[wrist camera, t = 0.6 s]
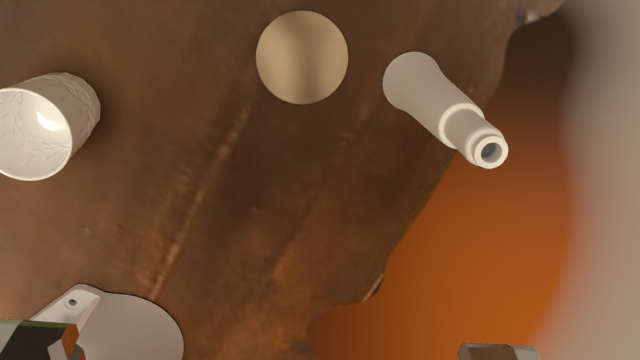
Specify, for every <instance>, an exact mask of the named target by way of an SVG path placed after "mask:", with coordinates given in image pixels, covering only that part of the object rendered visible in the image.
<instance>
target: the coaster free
mask: <svg viewBox="0 0 640 360" xmlns="http://www.w3.org/2000/svg"><path fill="white" fill-rule="evenodd" d="M256 64H257V69H258V72H259V75H260V77H261V80H262V81H263V83H264V85H265V86H266V87H267V88H268V89H269V90H270V91H271V92H272V93H273V94H274V95H275V96H277V97H278V98H280V99H282V100H284V101H287V102H290V103H294V104H310V103H314V102H317V101H320V100H322V99H324V98H326V97H327V96H329V95H330V94H331V93H333V92H334V91H335V90H336V89H337V87H338V86H339V85H340V83H341V82H342V80H343V78H344V76H345V73H346V70H347V65H348V49H347V45H346V42H345V39H344V37H343V35H342V33H341V32H340V30H339V29H338V28H337V27H336V25H335V24H334V23H333V22H331V21H330V20H329V19H328V18H326V17H324V16H323V15H321V14H318V13H315V12H312V11H306V10H298V11H292V12H288V13H285V14H283V15H281V16H279V17H278V18H276V19H275V20H273V21H272V22H271V23H270V24H269V25H268V26H267V27H266V29H265V30H264V31H263V33H262V35H261V37H260V40H259V42H258V46H257V51H256Z"/></svg>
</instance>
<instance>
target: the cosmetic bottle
mask: <svg viewBox="0 0 640 360" xmlns="http://www.w3.org/2000/svg"><path fill="white" fill-rule="evenodd" d="M383 91H384V94H385V96H386V98H387V100H388V101H389V102H390V103H391V104H392V105H393V106H394V107H396V108H398V109H400V110H403V111H406V112H407V113H409V114H410V115H411V116H413V117H414V118H415V119H416V120H417V121H418V122H420V123H421V124H422V125H423V126H424V127H425V128H426V129H427V130H429V131H430V132H431V133H432V134H433V135H434V136H435V137H437V138H438V139H439V140H440V141H442V142H443V143H444V144H445V145H447V146H448V147H451V148H454V149H458V150H459V151H460V153H462V155H463V156H464V157H465V158H466V159H467V160H468V161H469V162H471V163H472V164H474V165H478V166H481V167H483V168H486V169H491V168H495V167H497V166H499V165H501V164H502V163H503V162H504V160H505V159H506V157H507V154H508V146H507V143H506V142H505V140H504V137H503V135H502V133H501V132H500V131H499V130H498V129H496V128H495V127H494V126H492V125H491V124H490V123H489V122H487V121H486V120H485V117H484V114H483V112H482V111H481V110H480V109H479V108H478V106H477V105H475V104H474V103H473V102H472V101H471V100H470V99H469V98H468V97H467V96H466V95H465V94H464V93H463V92H462V91H461V90H459V89H458V88H457V87H456V86H455V85H454V84H453V83H452V82H451V81H449V80H448V79H447V78H446V77H445V76H444V74H443V73H442V72H441V70H440V68H439V66H438V64H437V63H436V62H435V60H434V59H433V58H431V57H430V56H428V55H427V54H424V53H421V52H408V53H404V54H402V55H400V56H398V57H397V58H395V59H394V60H393V61H392V62H391V63H390V64H389V66H388V67H387V69H386V71H385V73H384V77H383Z"/></svg>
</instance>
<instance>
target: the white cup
mask: <svg viewBox="0 0 640 360" xmlns="http://www.w3.org/2000/svg"><path fill="white" fill-rule="evenodd" d="M100 108H101V104H100V102H99V99H98V97H97V95H96V92H95V90H94V89H93V88H92V87H91V86H90V85H89V84H88V83H87V82H86V81H84V80H83V79H82V78H80V77H77V76H75V75H72V74H70V73H67V72H59V73H48V74H46V75H43V76H38V77H34V78H31V79H28V80H25V81H22V82H19V83H16V84H13V85H11V86H8V87H5V88H2V89H0V173H2V174H4V175H6V176H9V177H12V178H15V179H19V180H27V181H34V180H41V179H45V178H48V177H50V176H52V175H54V174H56V173H57V172H59V171H60V170H61V169H62V168H63V167H64V166H65V164H66V163H67V162H68V161H69V160H70V159H71V157H72V156H73V155H74V154H75V153H76V152H77V151H78V149H79V148H80V147H81V146H82V145H83V143H84V142H85V141H86V139H87V138H88V137H89V136H90V134H91V132H92V131H93V129H94V128H95V126H96V125H97V123H98V121H99V120H100Z"/></svg>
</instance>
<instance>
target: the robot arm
mask: <svg viewBox="0 0 640 360" xmlns="http://www.w3.org/2000/svg"><path fill="white" fill-rule="evenodd" d="M71 299H74V300H75V301H76V302H73V301H72V300H71ZM183 352H184V342H183V337H182V334H181V331H180V329H179V327H178V326H177V324H176V323H175V321H174V320H173V319H172V317H171V316H170V315H169V314H168V313H167V312H165V311H164V310H163V309H161V308H160V307H159V306H157V305H155V304H153V303H152V302H149V301H147V300H145V299H142V298H139V297H135V296H130V295H124V294H112V293H106V292H103V291H101V290H99V289H96V288H94V287H91V286H89V285H85V284H77V285H75V286H73V287H72V288H70V289H69V290H68V291H66V292H65V293H64V294H62V295H61V296H60V297H58V298H57V299H56V300H54V301H53V302H52V303H50V304H49V305H47V306H46V307H45V308H43V309H42V310H41V311H39V312H38V313H37V314H35V315H34V316H33V317H31V318H30V319H29V320H16V319H0V360H182V357H183ZM458 358H459V360H541V357H540V355H539V353H538V350H537V349H536V348H535V347H534V346H525V345H508V344H489V343H462V344H461V346H460V348H459V351H458Z"/></svg>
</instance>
